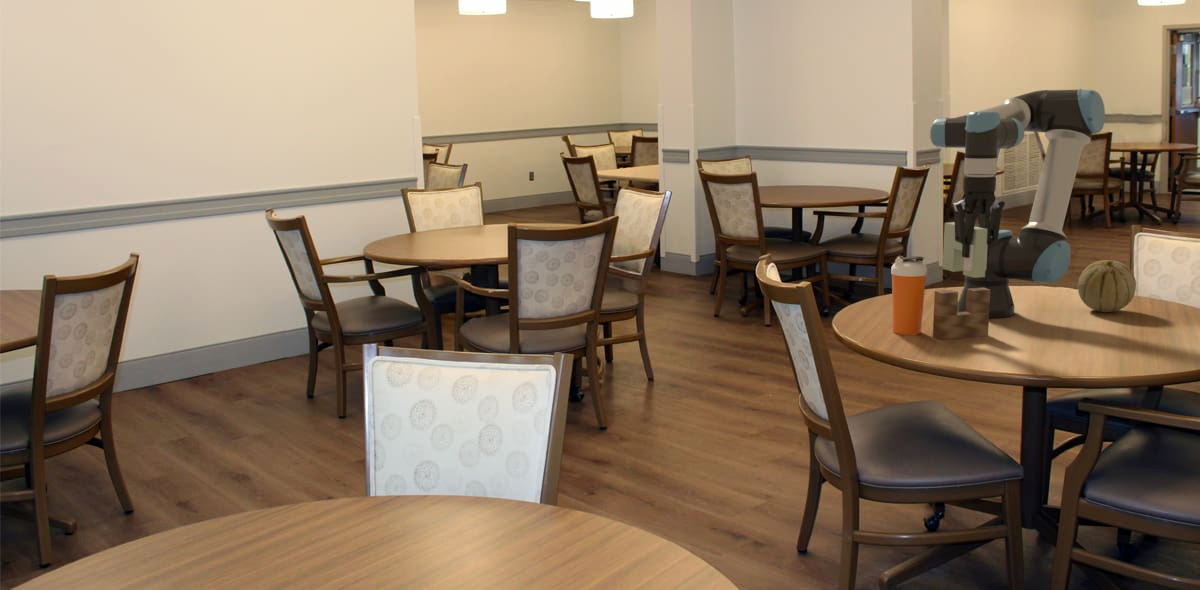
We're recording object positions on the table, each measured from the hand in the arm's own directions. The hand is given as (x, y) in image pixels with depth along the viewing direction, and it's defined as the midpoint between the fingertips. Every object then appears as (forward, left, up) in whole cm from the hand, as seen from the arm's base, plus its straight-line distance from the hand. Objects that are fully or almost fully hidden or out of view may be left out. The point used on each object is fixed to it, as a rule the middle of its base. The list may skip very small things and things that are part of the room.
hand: (974, 269), depth 251 cm
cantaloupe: (-53, -17, -18) cm, 59 cm away
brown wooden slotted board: (0, -5, -18) cm, 19 cm away
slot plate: (0, -5, -2) cm, 5 cm away
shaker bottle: (+10, -14, -18) cm, 25 cm away
